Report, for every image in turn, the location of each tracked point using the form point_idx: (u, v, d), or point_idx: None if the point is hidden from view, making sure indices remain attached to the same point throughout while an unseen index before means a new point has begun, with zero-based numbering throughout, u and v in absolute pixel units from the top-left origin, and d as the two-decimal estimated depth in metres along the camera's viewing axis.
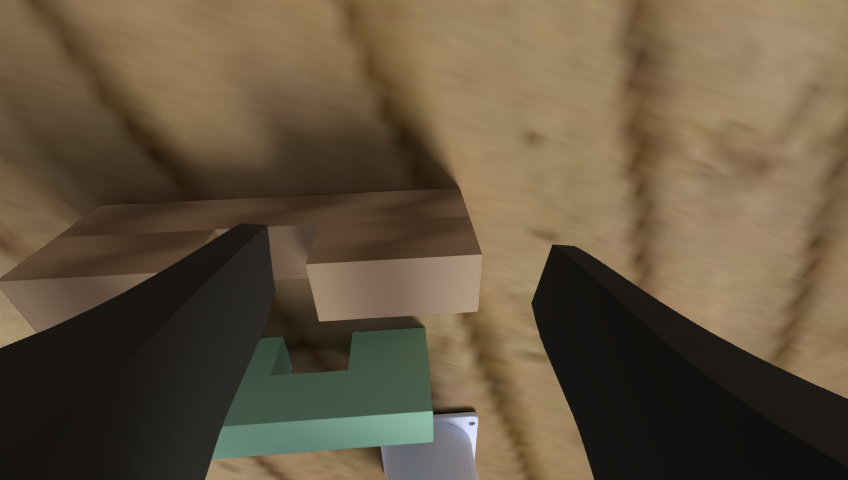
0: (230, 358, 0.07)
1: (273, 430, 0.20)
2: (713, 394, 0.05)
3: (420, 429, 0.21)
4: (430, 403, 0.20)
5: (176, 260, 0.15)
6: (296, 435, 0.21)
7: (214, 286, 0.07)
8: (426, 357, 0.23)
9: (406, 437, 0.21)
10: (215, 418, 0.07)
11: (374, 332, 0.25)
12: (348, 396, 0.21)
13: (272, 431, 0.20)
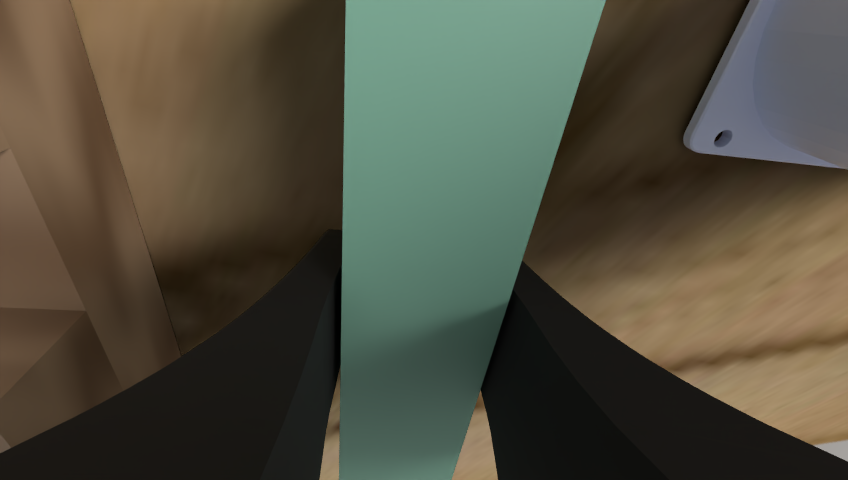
0: (334, 361, 0.08)
1: (372, 397, 0.08)
2: (573, 393, 0.05)
3: None
4: None
5: None
6: (405, 364, 0.08)
7: (333, 292, 0.07)
8: None
9: (531, 48, 0.05)
10: (324, 419, 0.07)
11: None
12: None
13: (376, 399, 0.08)
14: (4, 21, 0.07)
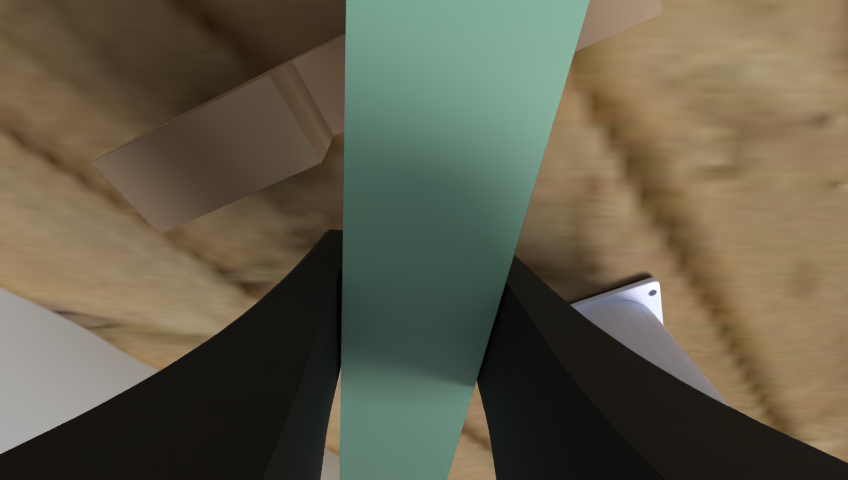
0: (334, 361, 0.08)
1: (373, 376, 0.08)
2: (571, 392, 0.05)
3: None
4: None
5: (258, 79, 0.12)
6: (406, 342, 0.08)
7: (334, 292, 0.07)
8: None
9: (528, 18, 0.05)
10: (326, 419, 0.07)
11: None
12: None
13: (376, 378, 0.08)
14: None
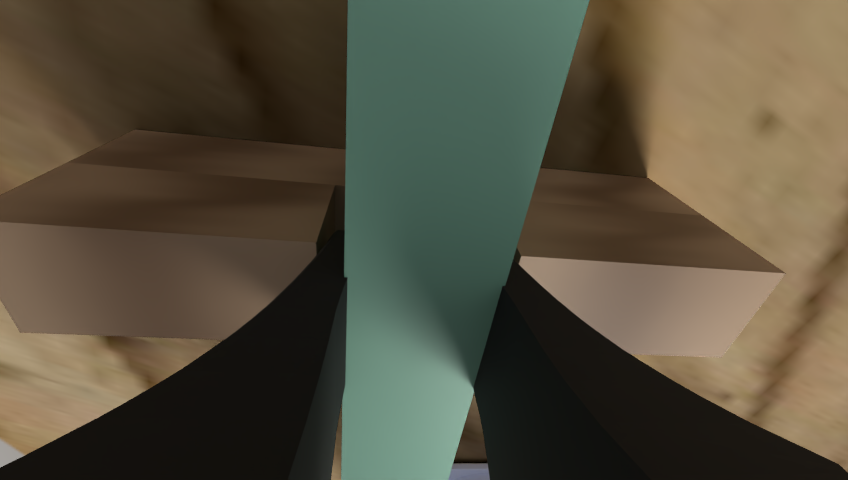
0: (344, 361, 0.08)
1: (374, 373, 0.08)
2: (562, 392, 0.05)
3: None
4: None
5: (293, 223, 0.09)
6: (407, 339, 0.08)
7: (345, 292, 0.07)
8: None
9: (529, 12, 0.05)
10: (335, 419, 0.07)
11: None
12: None
13: (378, 375, 0.08)
14: None
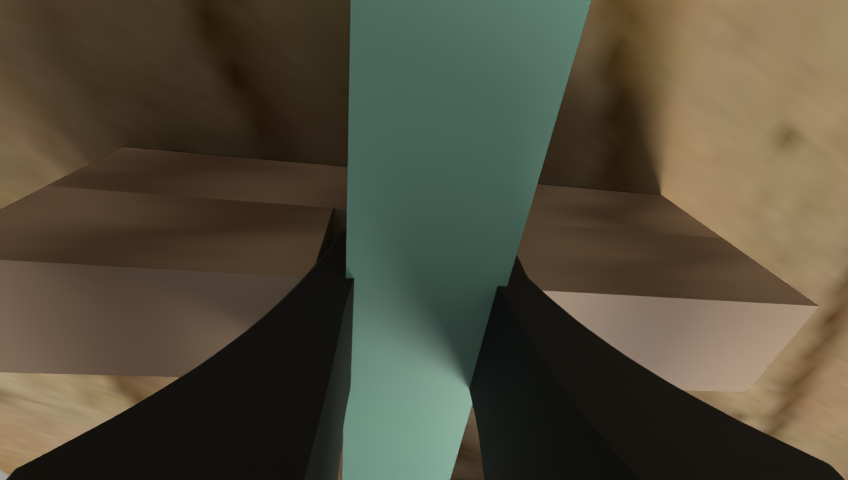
0: (350, 361, 0.08)
1: (376, 376, 0.08)
2: (553, 391, 0.05)
3: None
4: None
5: (287, 254, 0.08)
6: (408, 342, 0.08)
7: (352, 293, 0.07)
8: None
9: (530, 18, 0.05)
10: (342, 419, 0.07)
11: None
12: None
13: (379, 378, 0.08)
14: None
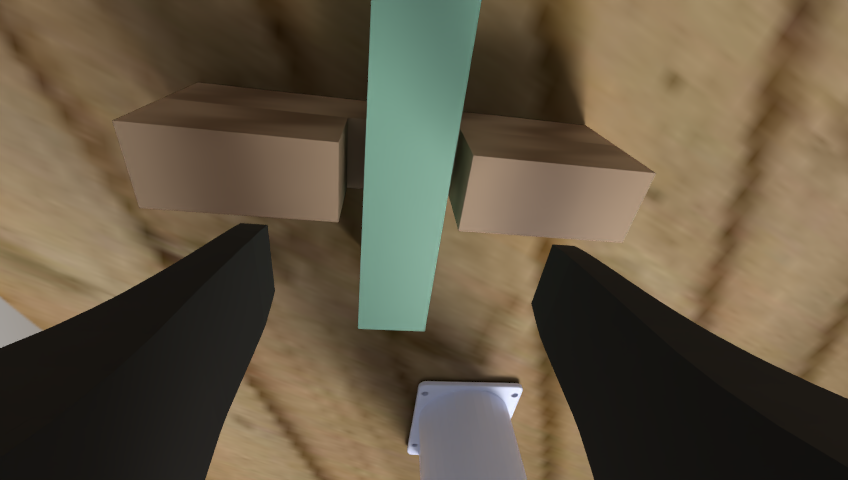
0: (230, 358, 0.07)
1: (381, 222, 0.14)
2: (713, 395, 0.05)
3: None
4: None
5: (322, 133, 0.13)
6: (399, 197, 0.14)
7: (214, 286, 0.07)
8: None
9: (453, 9, 0.11)
10: (215, 418, 0.07)
11: None
12: None
13: (383, 224, 0.14)
14: None
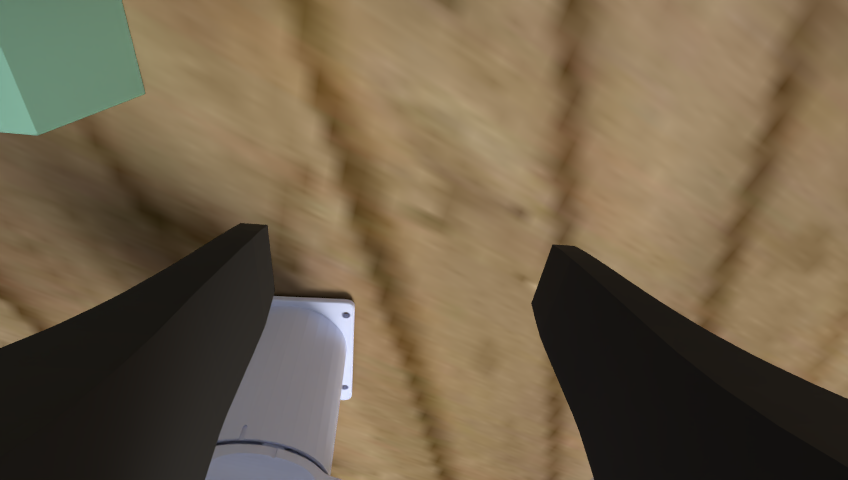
0: (230, 358, 0.07)
1: None
2: (712, 394, 0.05)
3: None
4: None
5: None
6: None
7: (214, 286, 0.07)
8: None
9: None
10: (216, 418, 0.07)
11: None
12: None
13: None
14: None
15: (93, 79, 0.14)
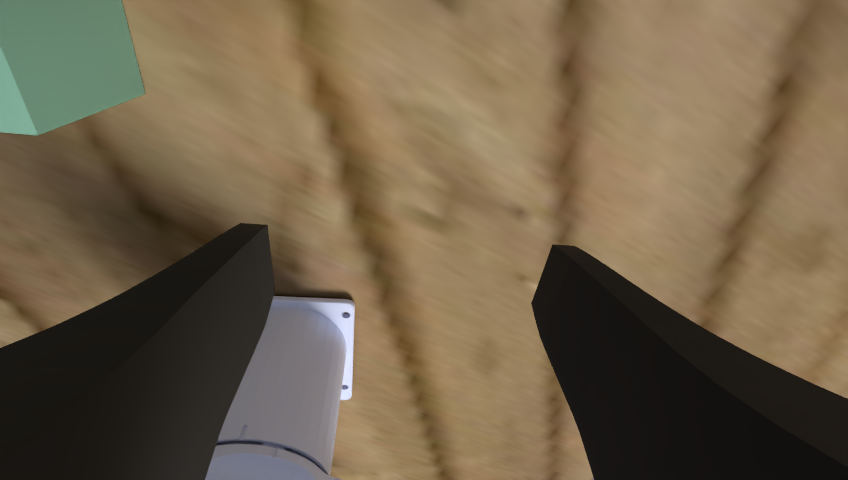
0: (230, 358, 0.07)
1: None
2: (712, 394, 0.05)
3: None
4: None
5: None
6: None
7: (214, 286, 0.07)
8: None
9: None
10: (216, 418, 0.07)
11: None
12: None
13: None
14: None
15: (93, 79, 0.14)
